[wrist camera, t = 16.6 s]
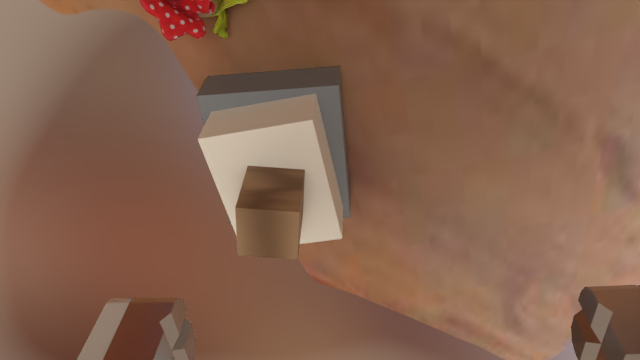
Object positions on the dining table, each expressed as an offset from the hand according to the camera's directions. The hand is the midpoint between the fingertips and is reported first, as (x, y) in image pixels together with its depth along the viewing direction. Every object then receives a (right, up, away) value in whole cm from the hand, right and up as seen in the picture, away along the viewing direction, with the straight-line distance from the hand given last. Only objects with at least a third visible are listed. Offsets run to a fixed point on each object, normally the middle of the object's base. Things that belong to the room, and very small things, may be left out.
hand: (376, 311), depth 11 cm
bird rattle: (-12, +20, +35) cm, 42 cm away
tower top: (-5, +4, +39) cm, 40 cm away
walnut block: (-5, +2, +35) cm, 36 cm away
